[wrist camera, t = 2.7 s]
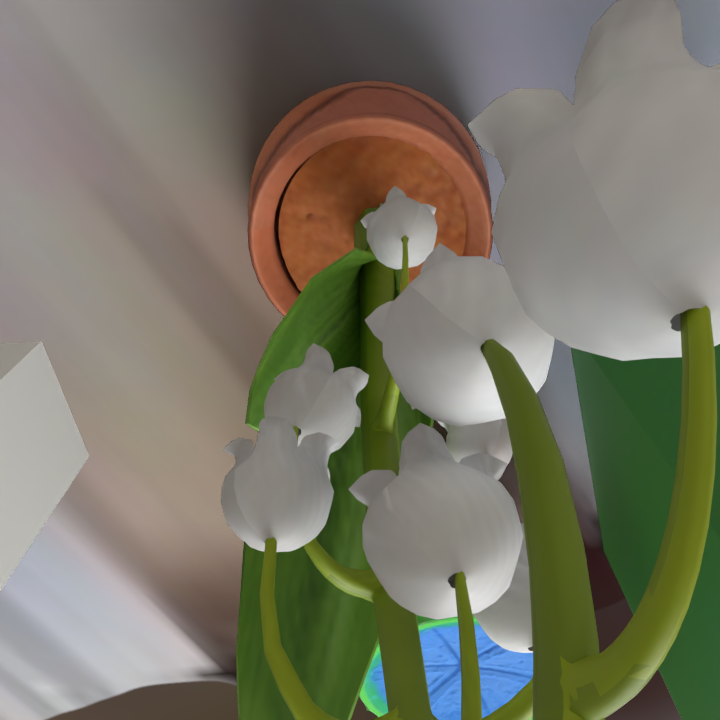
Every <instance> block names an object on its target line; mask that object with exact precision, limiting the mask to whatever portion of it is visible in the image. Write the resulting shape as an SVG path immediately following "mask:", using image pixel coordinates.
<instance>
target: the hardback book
mask: <svg viewBox="0 0 720 720" xmlns="http://www.w3.org/2000/svg"><path fill="white" fill-rule="evenodd" d="M714 350H715V368H716V397H717V434H716V460H715V478H714V486H713V495H712V503H711V512H710V520H709V527H708V532H707V537H706V542H705V547H704V552H703V557H702V562H701V567H700V571H699V575H698V578H697V581H696V585H695V588H694V591H693V595H692V598H691V601H690V605H689V608H688V610H687V613H686V615H685V618H684V620H683V622H682V625H681V627H680V630H679V632H678V634H677V637H676V639H675V641H674V643H673V644H672V646H671V648H670V650H669V652H668V653H667V655H666V657H665V659H664V661H663V662H662V664H661V665H660V666H659V668H658V669H659V671H660V673H661V675H662V677H663V680H664V682H665V684H666V686H667V688H668V690H669V692H670V695H671V697H672V699H673V701H674V703H675V705H676V708H677V710H678V712H679V714H680V716H681V719H682V720H720V344H718V345H716V346H714ZM571 351H572V358H573V364H574V370H575V376H576V382H577V388H578V395H579V401H580V407H581V413H582V419H583V426H584V432H585V438H586V444H587V450H588V456H589V463H590V469H591V475H592V481H593V487H594V493H595V500H596V506H597V512H598V518H599V524H600V531H601V537H602V543H603V549H604V552H605V554H606V556H607V558H608V561H609V563H610V565H611V567H612V569H613V571H614V574H615V576H616V578H617V580H618V582H619V584H620V587H621V589H622V591H623V593H624V595H625V597H626V600H627V601H628V604H629V606H630V608H631V610H632V612H633V615H634V614H635V612H636V610H637V608H638V605H639V603H640V601H641V599H642V597H643V595H644V593H645V591H646V588H647V586H648V583H649V580H650V578H651V575H652V572H653V569H654V567H655V564H656V561H657V558H658V554H659V551H660V547H661V543H662V539H663V535H664V532H665V528H666V524H667V520H668V515H669V509H670V503H671V498H672V492H673V487H674V481H675V475H676V465H677V455H678V445H679V435H680V425H681V393H682V357H675V358H650V359H639V360H628V361H621V360H617V359H613V358H609V357H605V356H601V355H597V354H593V353H590V352H586V351H582V350H579V349H575V348H571Z"/></svg>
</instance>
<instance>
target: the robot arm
mask: <svg viewBox="0 0 720 720" xmlns="http://www.w3.org/2000/svg"><path fill="white" fill-rule="evenodd" d="M88 458H89V454H88V452H87V450H86V447H85V445H84V442H83V440H82V438H81V435H80V433H79V430H78V428H77V426H76V423H75V421H74V418H73V416H72V414H71V411H70V409H69V406H68V404H67V402H66V399H65V397H64V394H63V392H62V390H61V387H60V385H59V382H58V380H57V377H56V375H55V373H54V370H53V368H52V365H51V363H50V361H49V358H48V356H47V353H46V351H45V349H44V346H43V344H42V341H34V342H17V343H1V344H0V591H1V590H2V588H3V587H4V585H5V584H6V582H7V581H8V579H9V577H10V576H11V574H12V573H13V571H14V570H15V568H16V567H17V565H18V564H19V562H20V561H21V559H22V558H23V556H24V555H25V553H26V552H27V550H28V549H29V547H30V546H31V544H32V543H33V541H34V540H35V538H36V536H37V535H38V533H39V532H40V530H41V529H42V527H43V526H44V524H45V523H46V521H47V520H48V518H49V517H50V515H51V514H52V512H53V511H54V509H55V508H56V506H57V505H58V503H59V502H60V500H61V499H62V497H63V495H64V494H65V492H66V491H67V489H68V488H69V486H70V485H71V483H72V482H73V480H74V479H75V477H76V476H77V474H78V473H79V471H80V470H81V468H82V467H83V465H84V464H85V462H86V461H87V459H88Z"/></svg>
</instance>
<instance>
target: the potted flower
mask: <svg viewBox="0 0 720 720" xmlns="http://www.w3.org/2000/svg"><path fill="white" fill-rule="evenodd" d="M575 82H576V88H575V93H574V105H573V104H572V103H571V102H570V101H569V100H568V99H567V98H566V97H565V96H564V95H563V94H562V93H561V92H559V91H558V90H554V89H520V88H516V89H514V90H512V91H510V92H508V93H506V94H504V95H502V96H501V97H499V98H497V99H495V100H494V101H492V102H491V103H490V104H489V105H488V106H487V107H486V108H485V109H484V110H483V111H482V112H481V113H480V114H479V115H478V116H476V117H475V118H474V119H473V120H472V121H471V122H470V123H469V124H468V125H467V126H468V127H469V129H470V131H471V132H472V134H473V136H474V137H475V139H476V141H477V142H478V144H479V145H480V146H481V147H482V148H484V149H485V150H486V151H487V152H489V153H490V154H491V155H493V156H494V157H496V158H497V159H498V161H499V163H500V166H501V168H502V170H503V173H504V177H505V182H506V183H505V185H504V187H503V189H502V191H501V193H500V195H499V199H498V204H497V208H496V213H495V218H494V222H493V221H492V214H491V197H490V190H489V183H488V178H487V174H486V170H485V167H484V164H483V161H482V158H481V154H480V152H479V150H478V148H477V147H476V145H475V143H474V141H473V139H472V137H471V135H470V134H469V133H468V131H467V130H466V129H465V127H464V126H463V125H462V123H461V122H460V121H459V120H458V119H457V118H456V117H455V116H454V115H453V114H452V113H451V112H450V111H449V110H448V109H447V108H445V107H444V106H443V105H441V104H440V103H438V102H437V101H435V100H434V99H432V98H431V97H429V96H428V95H426V94H423V93H421V92H419V91H417V90H414V89H412V88H410V87H407V86H403V85H399V84H395V83H391V82H381V81H360V82H352V83H345V84H342V85H338V86H335V87H332V88H328V89H325V90H323V91H321V92H319V93H317V94H315V95H313V96H311V97H309V98H307V99H306V100H304V101H303V102H302V103H300V104H299V105H298V106H296V107H295V108H293V109H292V110H291V111H290V112H289V113H288V114H287V115H286V116H285V117H284V118H283V119H282V120H281V121H280V122H279V123H278V124H277V125H276V127H275V128H274V130H273V131H272V133H271V134H270V136H269V137H268V139H267V140H266V141H265V143H264V146H263V148H262V150H261V152H260V154H259V156H258V158H257V161H256V165H255V168H254V172H253V175H252V179H251V185H250V193H249V202H248V217H249V222H248V244H249V251H250V256H251V261H252V265H253V268H254V271H255V273H256V276H257V278H258V281H259V283H260V285H261V287H262V288H263V290H264V292H265V294H266V295H267V297H268V299H269V300H270V301H271V302H272V304H273V305H274V306H275V307H276V309H277V310H278V311H279V312H280V313H281V314H282V315H283V316H284V318H283V320H282V321H281V323H280V324H279V325H278V327H277V328H276V330H275V331H274V333H273V334H272V336H271V338H270V341H269V343H268V345H267V348H266V350H265V352H264V355H263V357H262V359H261V361H260V364H259V366H258V369H257V371H256V374H255V377H254V380H253V382H252V385H251V388H250V391H249V398H248V406H247V414H246V422H245V424H247V425H249V426H250V427H252V428H254V429H255V430H257V431H258V432H259V434H258V437H257V443H256V445H255V449H254V448H253V442H252V440H250V439H244V438H238V439H235V440H233V441H231V442H230V443H229V444H228V445H227V446H226V447H224V448H223V449H222V450H223V451H225V452H227V453H229V454H231V455H233V456H235V459H236V464H235V465H234V467H233V468H232V469H231V470H230V472H229V473H228V474H227V475H226V477H225V479H224V482H223V485H222V493H221V505H222V509H223V513H224V516H225V518H226V521H227V524H228V526H229V527H230V528H231V529H232V530H233V531H234V533H235V534H236V535H237V536H238V537H239V538H241V539H242V540H243V541H244V549H243V563H242V578H241V592H240V606H239V620H238V634H237V649H236V666H237V689H238V690H237V691H238V719H239V720H350V719H351V716H352V714H353V711H354V708H355V705H356V703H357V699H358V697H359V694H360V691H361V688H362V686H363V683H364V680H365V678H366V675H367V672H368V670H369V667H370V664H371V662H372V659H373V656H374V653H375V651H376V648H377V645H378V643H379V646H380V653H381V661H382V669H383V676H384V684H385V691H386V699H387V707H388V713H386V714H384V715H382V716H380V717H378V718H376V719H373V720H438V719H437V718H436V717H435V716H434V715H433V714H432V711H431V705H430V699H429V693H428V686H427V680H426V673H425V667H424V660H423V654H422V647H421V641H420V635H419V628H418V622H417V615H419V616H423V617H427V618H431V619H436V620H439V619H445V618H451V617H458V628H459V645H460V664H461V720H530V719H531V718H532V717H533V720H605V719H604V718H605V717H607V716H608V715H610V714H612V713H613V712H615V711H616V710H618V709H619V708H620V707H622V706H623V705H624V704H626V703H627V702H628V701H629V700H631V699H632V698H633V697H635V696H636V695H637V694H638V692H640V690H641V689H642V688H643V687H644V686H645V685H646V684H647V683H648V681H649V680H650V679H651V677H652V676H653V675H654V673H655V672H656V671H657V669H658V668H659V666H660V665H661V664H662V662H663V661H664V659H665V657H666V655H667V653H668V652H669V650H670V648H671V646H672V644H673V643H674V641H675V639H676V637H677V634H678V632H679V630H680V627H681V625H682V622H683V620H684V618H685V615H686V613H687V610H688V608H689V605H690V601H691V598H692V595H693V591H694V588H695V585H696V581H697V578H698V575H699V571H700V567H701V562H702V557H703V552H704V547H705V542H706V537H707V532H708V527H709V520H710V512H711V503H712V495H713V486H714V478H715V460H716V434H717V397H716V368H715V350H714V346H716V345H718V344H720V64H717V65H714V66H711V67H706V66H704V65H702V64H701V63H699V62H698V61H696V60H695V59H694V58H693V57H692V56H691V55H690V53H689V52H688V51H687V50H686V48H685V46H684V44H683V34H682V24H681V14H680V12H679V9H678V7H677V5H676V2H675V0H618V1H617V2H615V3H614V4H612V5H611V6H610V7H609V8H608V9H607V10H606V12H605V13H604V14H603V15H602V16H601V17H600V19H599V20H598V21H597V22H596V23H595V24H594V25H593V27H592V28H591V31H590V34H589V37H588V40H587V43H586V46H585V49H584V52H583V55H582V58H581V61H580V64H579V67H578V70H577V73H576V76H575ZM493 238H494V241H495V244H496V246H497V249H498V251H499V254H500V257H501V259H502V262H503V264H504V266H502V265H500V264H498V263H496V262H494V261H491V260H489V259H490V254H491V248H492V243H493ZM555 338H556V339H557V340H559V341H561V342H563V343H564V344H566V345H568V346H570V347H571V348H575V349H579V350H582V351H586V352H590V353H593V354H597V355H601V356H605V357H609V358H613V359H617V360H621V361H628V360H639V359H650V358H675V357H682V393H681V425H680V435H679V445H678V455H677V465H676V475H675V481H674V487H673V492H672V498H671V503H670V509H669V515H668V520H667V524H666V528H665V532H664V535H663V539H662V543H661V547H660V551H659V554H658V558H657V561H656V564H655V567H654V569H653V572H652V575H651V578H650V580H649V583H648V586H647V588H646V591H645V593H644V595H643V597H642V599H641V601H640V603H639V605H638V608H637V610H636V612H635V614H634V616H633V617H632V619H631V620H630V622H629V623H628V625H627V627H626V628H625V629H624V631H623V632H622V633H621V634H620V635H619V636H618V638H617V639H616V640H615V641H614V642H613V643H612V644H611V645H610V646H609V647H608V648H607V649H606V650H604V651H603V652H602V653H600V654H599V641H598V635H597V628H596V622H595V615H594V608H593V602H592V595H591V589H590V582H589V575H588V569H587V562H586V556H585V549H584V544H583V539H582V535H581V531H580V527H579V523H578V519H577V515H576V510H575V506H574V502H573V498H572V494H571V490H570V486H569V481H568V477H567V473H566V469H565V465H564V461H563V458H562V455H561V453H560V450H559V448H558V445H557V443H556V440H555V438H554V435H553V433H552V430H551V428H550V425H549V423H548V420H547V418H546V415H545V413H544V410H543V408H542V405H541V403H540V400H539V398H538V395H537V392H538V391H539V390H540V388H541V387H542V386H543V384H544V383H545V382H546V379H547V375H548V370H549V366H550V362H551V358H552V353H553V347H554V341H555ZM480 348H481V350H482V352H483V355H484V357H485V358H484V357H483V355H482V353H481V351H480ZM505 418H506V419H505ZM434 420H436V421H438V423H439V424H440V425H441V426H443V427H444V428H445V429H446V430H447V432H448V434H447V436H446V443H445V441H444V439H443V437H442V435H441V434H440V433H439V432H437V431H436V430H435V429H434V428H433V423H434ZM512 454H513V458H514V463H515V469H516V474H517V479H518V485H519V492H520V500H521V508H522V516H523V523H520V520H519V516H518V513H517V509H516V506H515V502H514V500H513V498H512V497H511V496H510V494H509V493H508V491H507V490H506V489H505V487H504V486H503V485H502V483H501V482H499V481H498V480H499V478H500V477H501V476H502V474H503V472H504V470H505V468H506V466H507V465H508V464H509V462H510V459H511V457H512ZM472 614H473V615H474V617H475V618H476V620H477V621H478V623H479V624H480V626H481V627H482V629H483V630H484V631H485V633H486V634H487V635H488V636H489V638H490V639H491V640H492V641H494V642H495V643H496V644H498V645H499V646H500V647H502V648H504V649H506V650H509V651H514V652H520V653H533V677H532V678H531V680H530V681H529V682H528V683H527V684H526V685H525V686H524V687H523V688H522V689H521V690H520V691H519V692H518V693H517V694H516V695H515V696H514V697H513V698H512V699H511V700H510V701H508V702H507V703H506V704H504V705H503V706H501V707H500V708H498V709H497V710H495V711H494V712H492V713H491V714H489V715H488V716H486V717H484V718H482V703H481V684H480V671H479V662H478V653H477V644H476V635H475V626H474V620H473V615H472Z"/></svg>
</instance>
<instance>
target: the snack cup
mask: <svg viewBox="0 0 720 720" xmlns="http://www.w3.org/2000/svg"><path fill="white" fill-rule="evenodd" d="M472 615H473V614H472ZM473 620H474V626H475V635H476V644H477V653H478V662H479V671H480V684H481V703H482V718H484V717H486V716H488V715H489V714H491V713H492V712H494V711H495V710H497V709H498V708H500V707H501V706H503V705H504V704H506V703H507V702H508V701H510V700H511V699H512V698H513V697H514V696H515V695H516V694H517V693H518V692H519V691H520V690H521V689H522V688H523V687H524V686H525V685H526V684H527V683H528V682H529V681H530V680H531V678H532V677H533V653H520V652H514V651H509V650H506V649H504V648H502V647H500V646H499V645H498V644H496V643H495V642H494V641H492V640H491V639H490V638H489V636H488V635H487V634H486V633H485V631H484V630H483V629H482V627H481V626H480V624H479V623H478V621H477V620H476V618H475V617H474V615H473ZM417 622H418V628H419V635H420V641H421V647H422V654H423V660H424V667H425V673H426V680H427V686H428V693H429V699H430V705H431V711H432V714H433V715H434V716H435V717H436V718H437V719H438V720H461V664H460V645H459V628H458V617H451V618H445V619H439V620H436V619H431V618H427V617H423V616H419V615H417ZM359 696H360V698H361V699H362V701H363V703H364V705H365V706H366V708H367V710H370V711H371V712H373V713H374V714H376V715H377V716H378V717H380V716H382V715H384V714H386V713H388V707H387V699H386V691H385V684H384V676H383V669H382V661H381V653H380V646H379V643H378V645H377V648H376V651H375V653H374V656H373V659H372V662H371V664H370V667H369V670H368V672H367V675H366V678H365V680H364V683H363V686H362V688H361V691H360V694H359ZM530 720H533V717H532V718H531V719H530Z"/></svg>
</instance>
